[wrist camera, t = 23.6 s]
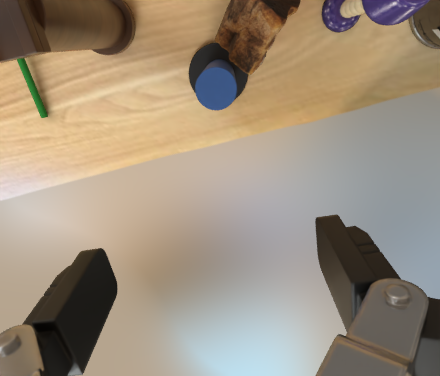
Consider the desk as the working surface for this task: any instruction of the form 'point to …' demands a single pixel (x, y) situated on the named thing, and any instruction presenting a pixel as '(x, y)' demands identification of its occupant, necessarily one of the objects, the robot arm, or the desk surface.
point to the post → (64, 27)
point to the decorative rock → (252, 29)
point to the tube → (216, 85)
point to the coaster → (211, 54)
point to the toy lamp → (368, 12)
